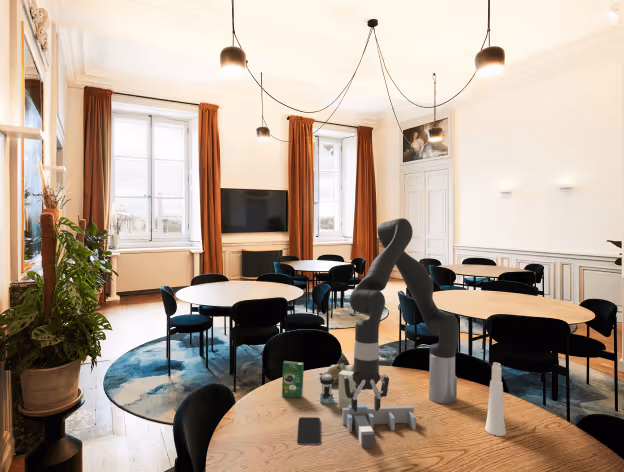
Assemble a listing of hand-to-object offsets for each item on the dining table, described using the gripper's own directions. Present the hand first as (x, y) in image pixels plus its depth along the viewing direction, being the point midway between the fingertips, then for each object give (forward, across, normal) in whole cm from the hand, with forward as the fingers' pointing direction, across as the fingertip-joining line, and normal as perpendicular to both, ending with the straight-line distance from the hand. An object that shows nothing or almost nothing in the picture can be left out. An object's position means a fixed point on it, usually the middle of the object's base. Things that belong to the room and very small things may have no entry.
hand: (365, 410), depth 113 cm
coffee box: (+10, +20, -32) cm, 40 cm away
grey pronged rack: (+9, -7, -8) cm, 14 cm away
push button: (+10, +8, -26) cm, 29 cm away
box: (+10, +2, -22) cm, 24 cm away
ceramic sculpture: (+10, +1, -45) cm, 46 cm away
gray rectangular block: (+10, 0, -2) cm, 10 cm away
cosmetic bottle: (+10, -43, -2) cm, 45 cm away
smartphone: (+10, +16, -7) cm, 20 cm away
